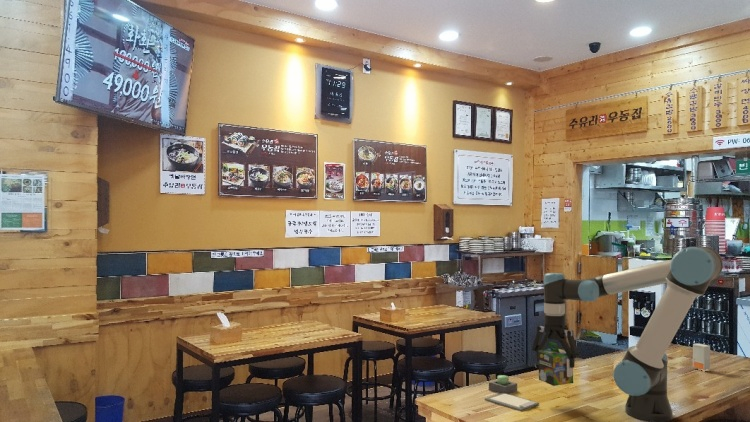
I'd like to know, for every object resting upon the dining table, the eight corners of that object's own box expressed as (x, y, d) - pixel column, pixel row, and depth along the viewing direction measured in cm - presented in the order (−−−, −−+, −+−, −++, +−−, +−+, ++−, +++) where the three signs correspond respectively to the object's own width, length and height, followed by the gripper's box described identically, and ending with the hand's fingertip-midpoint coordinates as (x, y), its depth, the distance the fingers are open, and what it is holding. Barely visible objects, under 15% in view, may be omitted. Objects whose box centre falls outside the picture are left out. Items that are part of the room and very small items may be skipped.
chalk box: (573, 384, 205) (573, 343, 205) (553, 386, 202) (553, 345, 202) (557, 377, 213) (557, 339, 214) (537, 379, 210) (537, 340, 211)
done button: (510, 384, 223) (510, 376, 223) (504, 386, 220) (504, 378, 220) (501, 381, 227) (501, 374, 227) (495, 383, 224) (495, 376, 224)
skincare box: (692, 369, 263) (692, 343, 264) (698, 368, 265) (698, 343, 265) (704, 372, 258) (704, 346, 258) (710, 371, 260) (710, 345, 260)
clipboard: (540, 404, 206) (540, 401, 206) (521, 411, 198) (521, 408, 198) (503, 394, 219) (503, 391, 219) (484, 400, 211) (484, 396, 211)
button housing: (517, 390, 223) (517, 383, 223) (505, 394, 218) (505, 387, 218) (500, 386, 229) (500, 378, 229) (488, 389, 224) (488, 382, 224)
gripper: (589, 316, 202) (590, 377, 201) (532, 310, 220) (533, 366, 219) (578, 318, 197) (579, 381, 196) (522, 312, 215) (522, 369, 214)
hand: (555, 373), depth 208 cm, fingers closed on chalk box, 11 cm apart
